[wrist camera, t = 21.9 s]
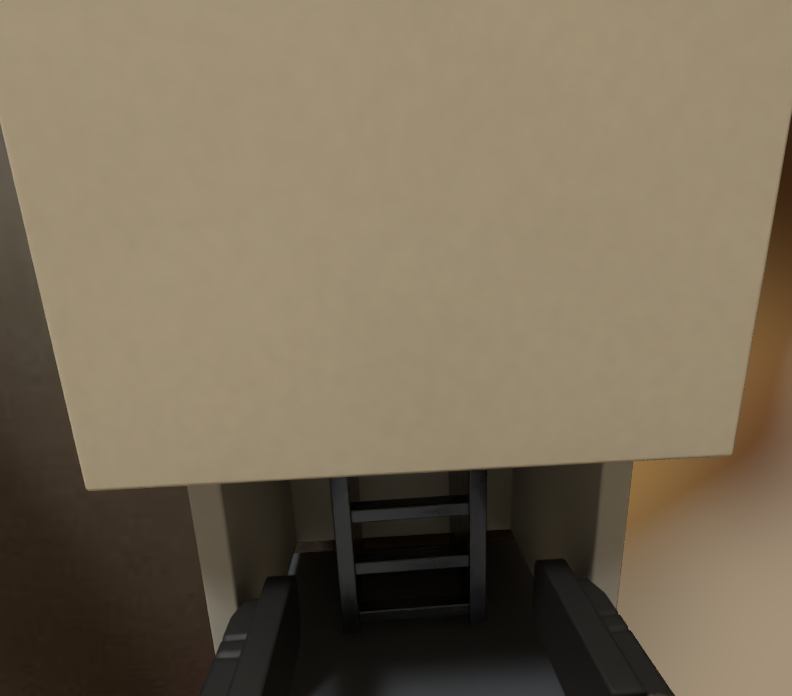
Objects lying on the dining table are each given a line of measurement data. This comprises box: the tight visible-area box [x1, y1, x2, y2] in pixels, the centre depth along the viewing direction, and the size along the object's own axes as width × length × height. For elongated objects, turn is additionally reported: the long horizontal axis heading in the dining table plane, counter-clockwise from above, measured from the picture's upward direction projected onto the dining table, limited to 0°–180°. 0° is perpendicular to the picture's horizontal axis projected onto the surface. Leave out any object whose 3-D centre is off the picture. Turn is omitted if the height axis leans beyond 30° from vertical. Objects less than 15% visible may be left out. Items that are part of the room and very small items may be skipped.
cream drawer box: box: [0, 0, 792, 491], centre depth 11 cm, size 20×14×10 cm
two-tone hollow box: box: [187, 461, 633, 696], centre depth 14 cm, size 20×13×8 cm, turn 2°
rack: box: [329, 469, 487, 634], centre depth 15 cm, size 5×7×4 cm
